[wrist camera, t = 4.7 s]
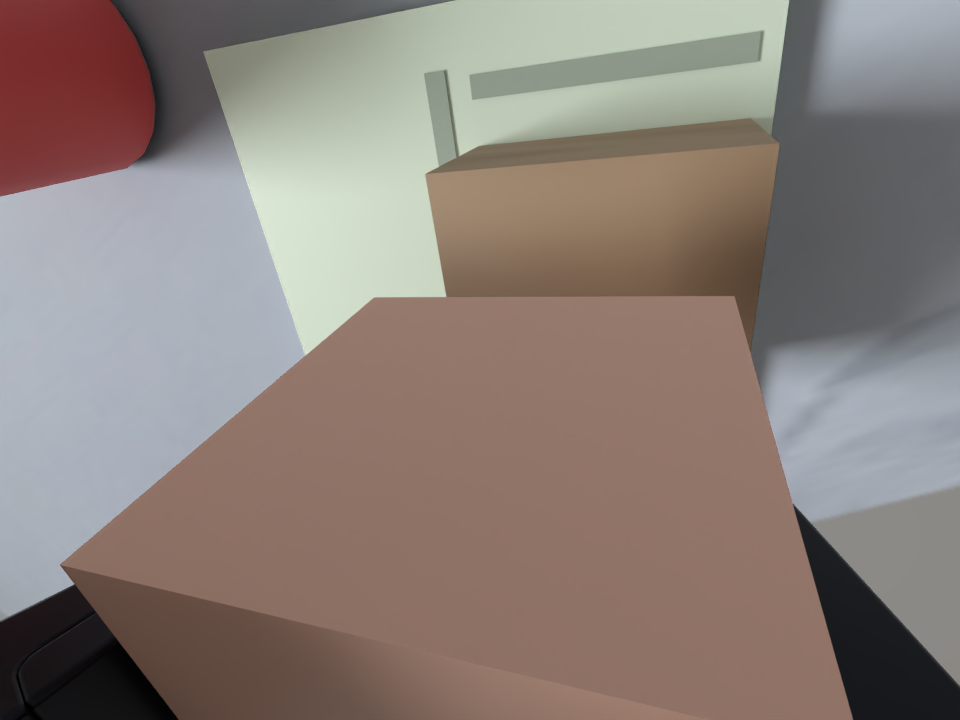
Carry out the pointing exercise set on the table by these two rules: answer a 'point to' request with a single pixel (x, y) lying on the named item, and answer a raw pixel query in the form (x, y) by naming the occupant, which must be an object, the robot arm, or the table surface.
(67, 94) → the beer can
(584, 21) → the cream mat
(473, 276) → the base block
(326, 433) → the cube
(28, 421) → the table surface
